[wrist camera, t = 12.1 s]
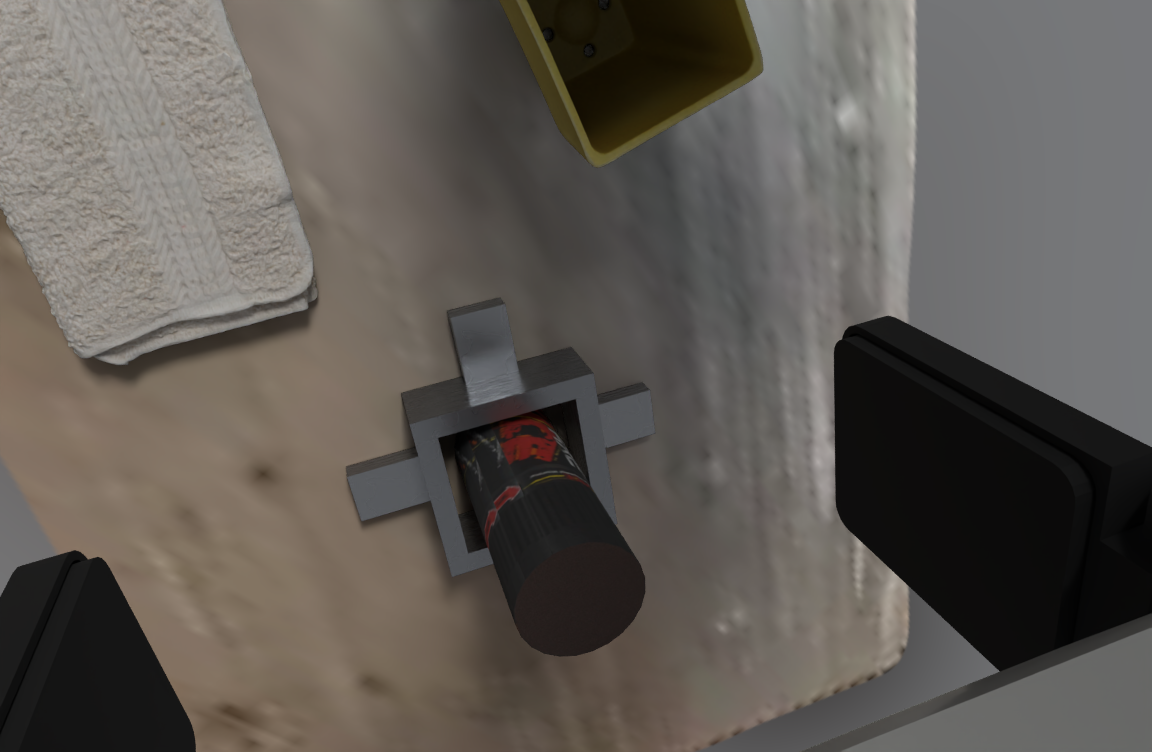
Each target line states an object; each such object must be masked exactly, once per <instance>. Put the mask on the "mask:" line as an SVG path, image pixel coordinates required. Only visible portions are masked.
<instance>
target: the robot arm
mask: <svg viewBox="0 0 1152 752" xmlns="http://www.w3.org/2000/svg"><path fill="white" fill-rule="evenodd" d="M834 399H835V485H836V507H837V511H838V514H839V516H840V519H841V520H842V522H843V524H844V525H845V526H846V527H847V529H848V530H849V531H850V532H852V533H853V534H854V535H855V536H856V537H857V538H858V539H859V540H860V541H861V542H862V543H863V544H864V545H865V546H866V547H868V548H869V549H870V550H871V551H872V552H873V553H874V554H875V555H876V556H877V557H878V558H879V559H880V560H881V561H882V562H884V563H885V564H886V565H887V566H888V567H889V568H890V569H891V570H892V571H893V572H894V573H895V574H896V575H897V576H899V577H900V578H901V579H902V580H903V581H904V582H905V583H906V584H907V585H908V586H909V587H910V588H911V589H912V590H913V591H915V592H916V593H917V594H918V595H919V596H920V597H921V598H922V599H923V600H924V601H925V602H926V603H928V605H929V606H931V607H932V608H933V609H934V610H935V611H936V612H937V613H938V614H939V615H941V617H942V618H943V619H944V620H945V621H947V622H948V623H949V624H950V625H951V626H952V627H953V628H954V629H955V630H956V631H957V632H958V633H959V634H960V635H962V636H963V637H964V638H965V639H966V640H967V641H968V642H969V643H970V644H971V645H972V646H973V647H974V648H975V649H976V650H978V651H979V652H980V653H981V654H982V655H983V656H984V657H985V658H986V659H987V660H988V661H989V662H990V663H991V664H993V665H994V666H995V667H996V668H997V669H998V670H999V671H1000V672H998V673H996V674H993V675H991V676H988V677H986V678H983V679H981V680H978V681H976V682H973V683H970V684H968V685H965V686H963V687H960V688H958V689H955V690H953V691H950V692H948V693H945V694H943V695H940V696H938V697H935V698H933V699H930V700H928V701H925V702H923V703H920V704H918V705H915V706H913V707H910V708H908V709H905V710H903V711H900V712H898V713H895V714H893V715H890V716H888V717H885V718H883V719H880V720H878V721H875V722H873V723H870V724H868V725H865V726H862V727H860V728H857V729H855V730H853V731H850V732H848V733H845V734H843V735H840V736H838V737H835V738H833V739H830V740H828V741H825V742H823V743H820V744H818V745H815V746H813V747H810V748H808V749H805V750H803V751H801V752H1152V447H1150V446H1148V445H1146V444H1144V443H1142V442H1140V441H1138V440H1136V439H1134V438H1132V437H1130V436H1128V435H1126V434H1124V433H1122V432H1120V431H1118V430H1116V429H1114V428H1112V427H1111V426H1109V425H1107V424H1105V423H1103V422H1100V421H1098V420H1097V419H1095V418H1092V417H1091V416H1089V415H1087V414H1085V413H1083V412H1081V411H1079V410H1077V409H1075V408H1073V407H1071V406H1069V405H1067V404H1065V403H1063V402H1061V401H1059V400H1057V399H1055V398H1053V397H1051V396H1049V395H1047V394H1045V393H1043V392H1041V391H1039V390H1037V389H1035V388H1033V387H1031V386H1029V385H1027V384H1025V383H1023V382H1021V381H1019V380H1017V379H1016V378H1014V377H1012V376H1010V375H1008V374H1005V373H1003V372H1002V371H1000V370H998V369H996V368H994V367H992V366H990V365H988V364H986V363H984V362H982V361H980V360H978V359H976V358H974V357H972V356H970V355H968V354H966V353H964V352H962V351H960V350H958V349H956V348H954V347H952V346H950V345H948V344H946V343H944V342H942V341H940V340H938V339H936V338H934V337H932V336H930V335H928V334H927V333H925V332H922V331H921V330H918V329H917V328H915V327H913V326H911V325H909V324H907V323H905V322H903V321H901V320H899V319H897V318H895V317H891V316H885V317H881V318H878V319H874V320H871V321H867V322H864V323H860V324H857V325H853V326H850V327H848V328H847V329H846V330H845V332H844V335H843V338H842V340H839V341H838V342H837V343H836V346H835V348H834ZM0 752H196V744H195V736H194V731H193V728H192V725H191V722H190V720H189V718H188V716H187V714H186V712H185V710H184V708H183V707H182V705H181V703H180V701H179V699H178V697H177V695H176V693H175V691H174V689H173V688H172V686H171V684H170V682H169V680H168V678H167V676H166V674H165V672H164V670H163V669H162V667H161V665H160V663H159V661H158V659H157V657H156V655H155V653H154V651H153V650H152V648H151V646H150V644H149V642H148V640H147V638H146V636H145V634H144V632H143V631H142V629H141V627H140V625H139V623H138V621H137V619H136V617H135V615H134V614H133V612H132V610H131V608H130V606H129V604H128V602H127V600H126V598H125V596H124V595H123V593H122V591H121V589H120V587H119V585H118V583H117V581H116V579H115V577H114V576H113V574H112V572H111V570H110V568H109V566H108V565H107V563H106V562H105V561H104V560H103V559H102V558H99V557H96V558H92V559H89V560H88V559H87V558H86V557H85V556H84V555H83V554H82V553H81V552H79V551H76V550H74V551H71V552H67V553H64V554H60V555H57V556H53V557H50V558H46V559H43V560H39V561H36V562H32V563H29V564H26V565H22V566H20V567H17V569H16V570H15V571H14V572H13V574H12V575H11V577H10V579H9V581H8V583H7V585H6V587H5V589H4V591H3V593H2V595H1V597H0Z"/></svg>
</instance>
